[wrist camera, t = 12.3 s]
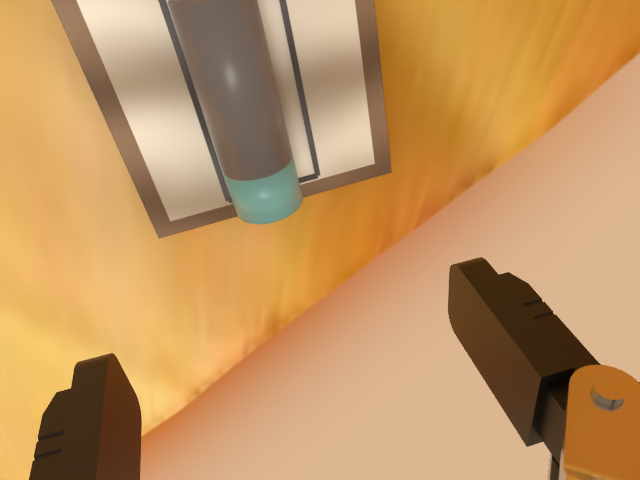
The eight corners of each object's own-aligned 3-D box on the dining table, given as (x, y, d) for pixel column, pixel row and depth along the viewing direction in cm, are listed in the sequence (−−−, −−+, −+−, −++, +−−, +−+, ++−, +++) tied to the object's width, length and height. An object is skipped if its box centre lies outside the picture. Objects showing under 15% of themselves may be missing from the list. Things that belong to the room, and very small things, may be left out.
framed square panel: (29, -60, 22) (23, -57, 21) (353, -133, 23) (362, -133, 22) (158, 228, 31) (158, 241, 30) (385, 164, 32) (393, 174, 31)
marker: (178, -43, 23) (141, -23, 20) (256, -57, 22) (229, -36, 19) (247, 186, 30) (227, 224, 27) (308, 183, 29) (293, 223, 26)
